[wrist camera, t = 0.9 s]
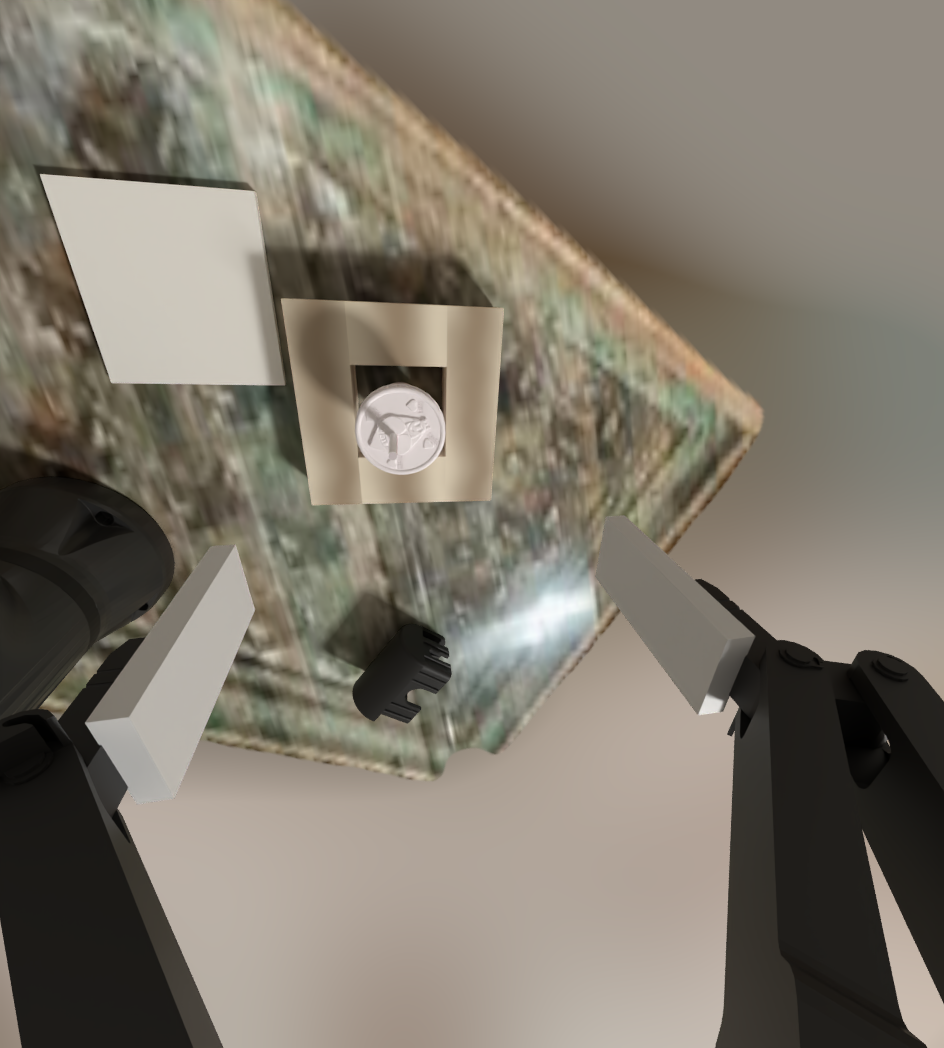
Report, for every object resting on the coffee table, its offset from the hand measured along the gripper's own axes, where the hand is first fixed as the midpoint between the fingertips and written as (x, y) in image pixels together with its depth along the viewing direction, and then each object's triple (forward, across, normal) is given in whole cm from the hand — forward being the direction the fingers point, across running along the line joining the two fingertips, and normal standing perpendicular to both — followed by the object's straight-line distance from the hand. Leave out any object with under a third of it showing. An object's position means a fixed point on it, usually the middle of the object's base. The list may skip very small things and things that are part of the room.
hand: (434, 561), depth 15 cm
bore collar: (+26, -1, 0) cm, 26 cm away
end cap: (+27, -2, -30) cm, 40 cm away
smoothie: (+26, 0, 0) cm, 26 cm away
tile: (+26, -16, +9) cm, 32 cm away
